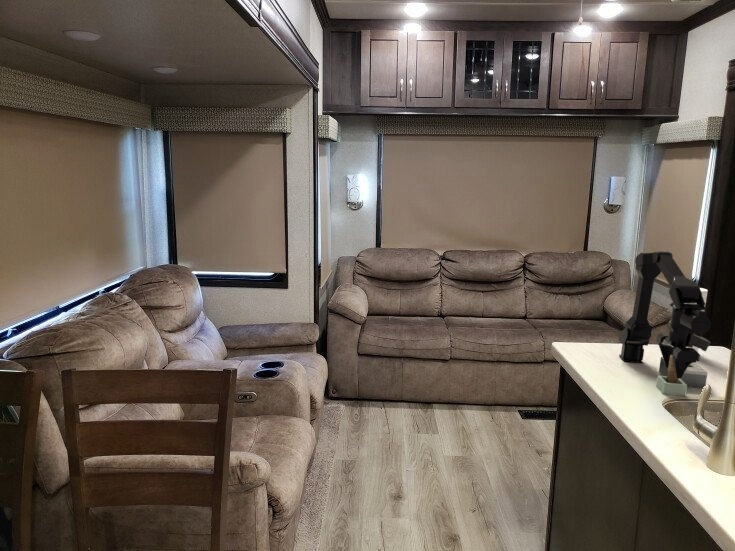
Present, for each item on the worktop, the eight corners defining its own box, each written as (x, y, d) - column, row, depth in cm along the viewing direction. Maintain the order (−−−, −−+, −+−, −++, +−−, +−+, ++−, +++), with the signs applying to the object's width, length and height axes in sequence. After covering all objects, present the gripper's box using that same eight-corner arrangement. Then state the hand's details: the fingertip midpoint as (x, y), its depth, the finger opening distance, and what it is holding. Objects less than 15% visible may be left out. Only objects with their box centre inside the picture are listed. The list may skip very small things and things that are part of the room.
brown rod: (667, 391, 175) (672, 357, 173) (663, 387, 178) (668, 354, 176) (678, 392, 174) (683, 358, 172) (674, 388, 178) (679, 355, 175)
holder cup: (663, 393, 174) (664, 383, 173) (656, 386, 180) (657, 375, 179) (685, 396, 173) (687, 385, 172) (677, 388, 179) (679, 377, 178)
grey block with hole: (671, 385, 181) (674, 369, 180) (658, 372, 192) (660, 356, 191) (704, 388, 179) (707, 372, 178) (689, 374, 191) (692, 359, 190)
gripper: (723, 335, 162) (714, 386, 165) (696, 318, 180) (689, 364, 183) (681, 332, 163) (673, 383, 167) (659, 315, 181) (652, 361, 185)
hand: (673, 372), depth 175 cm, fingers open, 9 cm apart
